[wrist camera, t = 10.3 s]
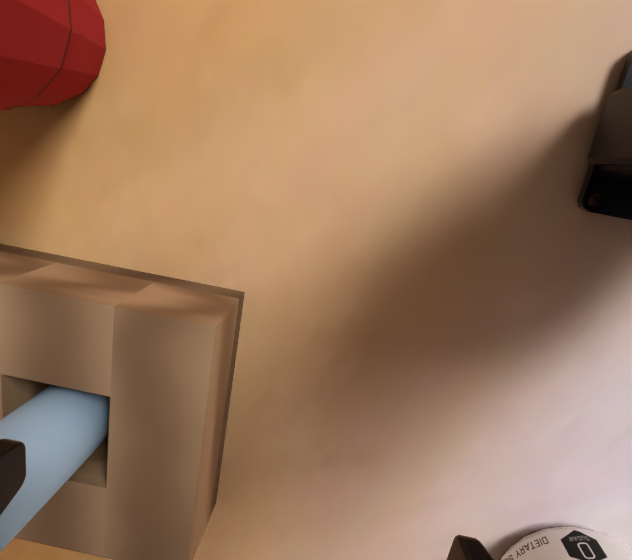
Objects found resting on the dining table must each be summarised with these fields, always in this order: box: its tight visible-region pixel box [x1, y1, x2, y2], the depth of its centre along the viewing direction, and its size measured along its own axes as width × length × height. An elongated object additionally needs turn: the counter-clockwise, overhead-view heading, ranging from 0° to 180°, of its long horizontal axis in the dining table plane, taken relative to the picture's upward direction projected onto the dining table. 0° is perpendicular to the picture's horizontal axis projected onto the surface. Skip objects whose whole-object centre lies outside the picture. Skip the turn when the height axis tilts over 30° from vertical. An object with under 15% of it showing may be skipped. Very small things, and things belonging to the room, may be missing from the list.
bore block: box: [0, 244, 245, 560], centre depth 21 cm, size 13×13×4 cm
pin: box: [0, 385, 110, 551], centre depth 18 cm, size 4×4×8 cm
